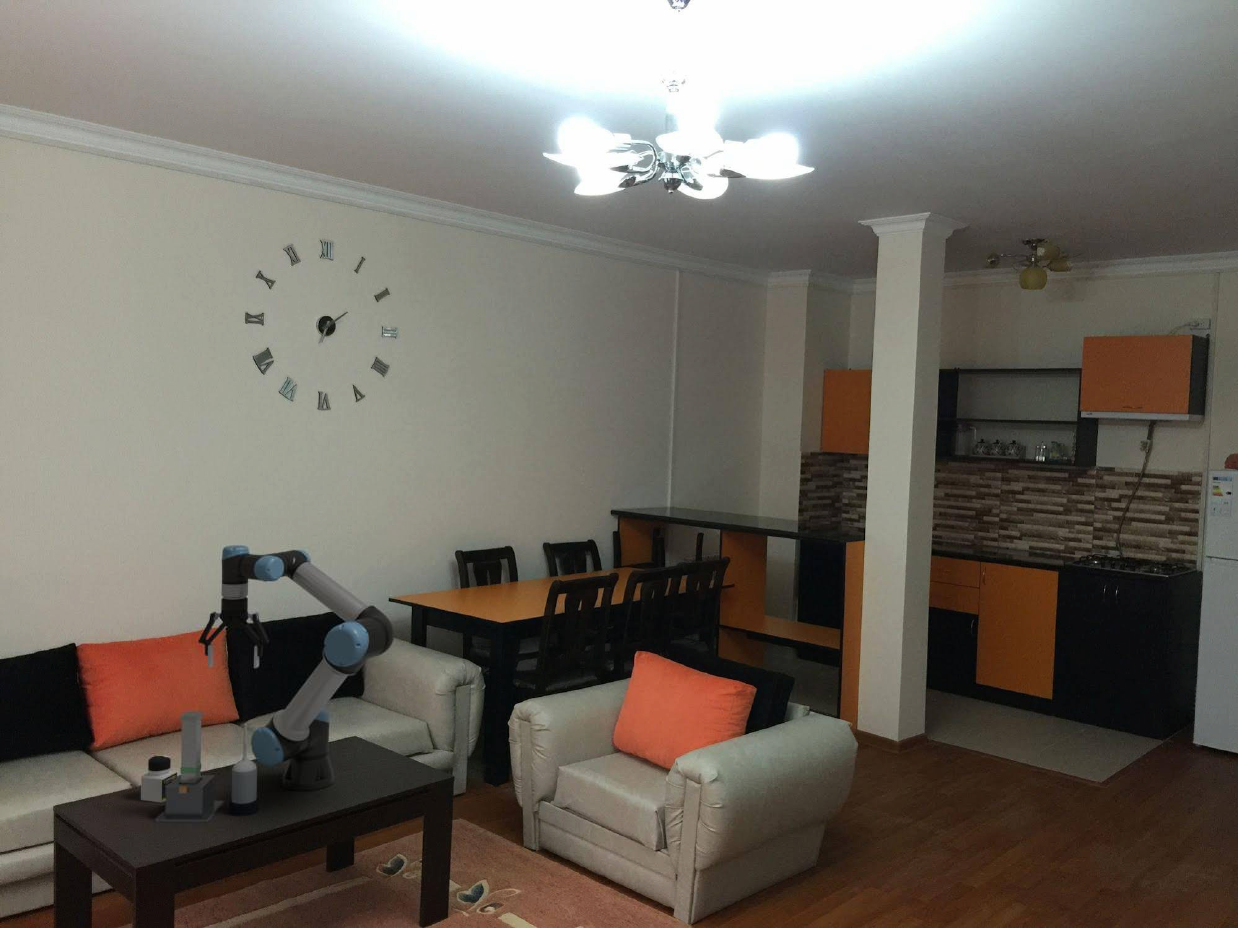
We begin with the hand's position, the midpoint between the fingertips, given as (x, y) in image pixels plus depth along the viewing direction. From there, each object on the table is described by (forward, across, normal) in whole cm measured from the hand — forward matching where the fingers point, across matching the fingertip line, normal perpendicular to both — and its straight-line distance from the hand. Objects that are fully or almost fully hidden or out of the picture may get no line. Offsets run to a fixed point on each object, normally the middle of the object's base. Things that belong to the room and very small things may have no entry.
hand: (233, 666), depth 311 cm
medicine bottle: (+37, +18, +9) cm, 42 cm away
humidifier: (+37, -9, +19) cm, 43 cm away
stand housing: (+37, +5, +21) cm, 43 cm away
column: (+30, +5, +21) cm, 37 cm away
